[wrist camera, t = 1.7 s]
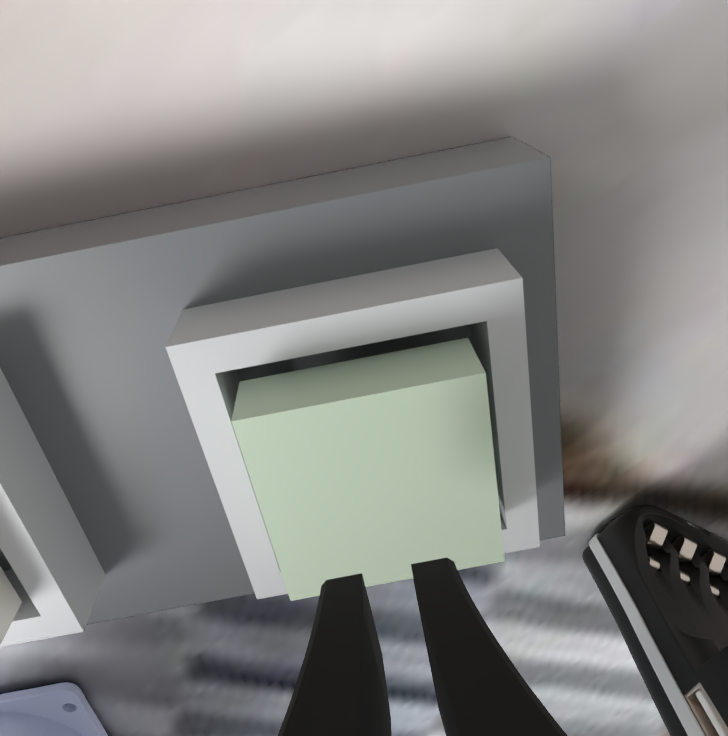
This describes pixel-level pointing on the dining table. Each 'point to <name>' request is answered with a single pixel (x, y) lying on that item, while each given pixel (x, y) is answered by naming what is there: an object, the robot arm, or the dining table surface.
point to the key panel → (252, 365)
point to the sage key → (373, 465)
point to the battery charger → (670, 612)
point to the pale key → (7, 604)
